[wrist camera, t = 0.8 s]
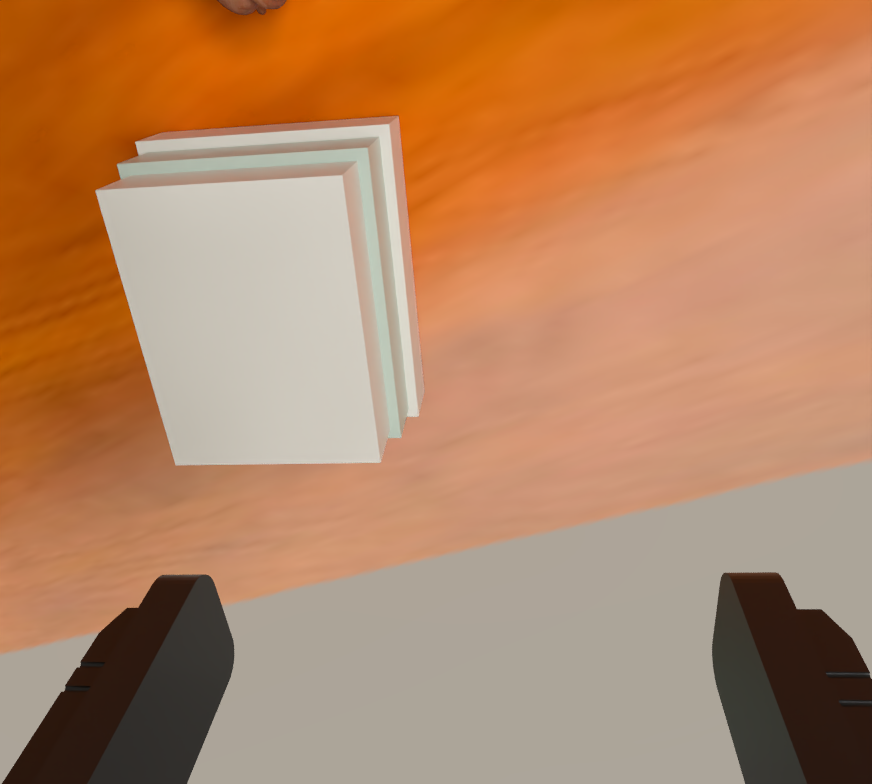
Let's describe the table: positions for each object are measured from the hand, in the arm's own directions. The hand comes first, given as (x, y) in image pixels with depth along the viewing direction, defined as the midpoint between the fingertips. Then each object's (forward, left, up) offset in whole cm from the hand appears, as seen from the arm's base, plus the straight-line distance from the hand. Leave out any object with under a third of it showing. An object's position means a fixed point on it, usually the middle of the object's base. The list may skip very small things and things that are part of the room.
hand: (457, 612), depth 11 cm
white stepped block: (+3, -10, -28) cm, 30 cm away
